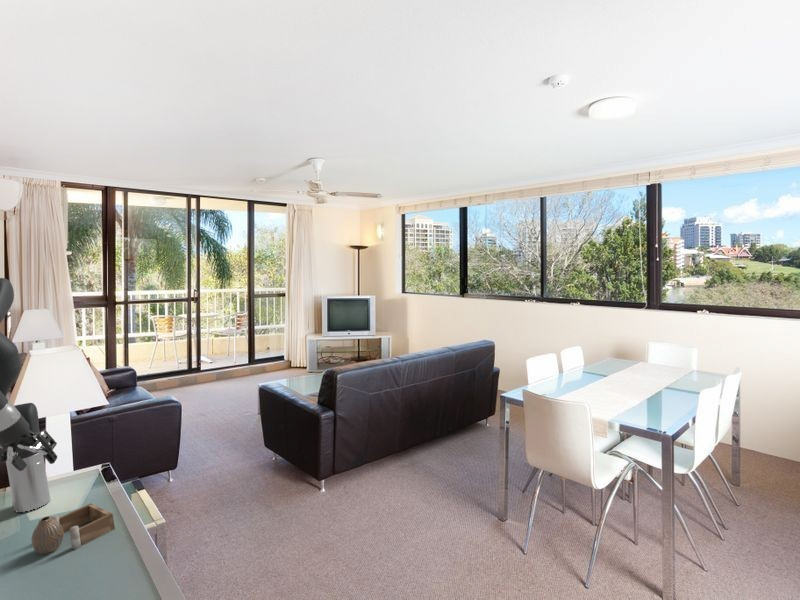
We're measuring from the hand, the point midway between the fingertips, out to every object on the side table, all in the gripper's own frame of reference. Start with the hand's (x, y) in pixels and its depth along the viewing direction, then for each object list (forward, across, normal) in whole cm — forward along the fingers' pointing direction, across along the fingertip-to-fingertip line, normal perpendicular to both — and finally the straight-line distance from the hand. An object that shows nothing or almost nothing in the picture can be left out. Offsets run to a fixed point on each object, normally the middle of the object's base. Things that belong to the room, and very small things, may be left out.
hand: (38, 464), depth 127 cm
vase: (+19, 0, +13) cm, 23 cm away
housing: (+22, -5, +6) cm, 24 cm away
